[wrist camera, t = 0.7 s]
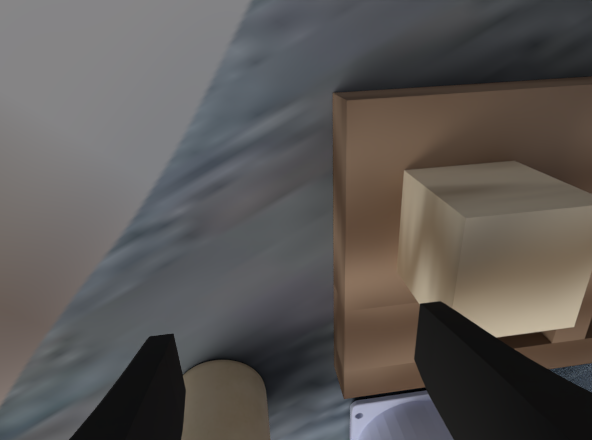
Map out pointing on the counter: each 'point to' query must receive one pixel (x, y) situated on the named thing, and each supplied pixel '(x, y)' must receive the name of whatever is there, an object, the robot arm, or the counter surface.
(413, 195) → the maple block
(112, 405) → the robot arm
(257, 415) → the cream domed cylinder
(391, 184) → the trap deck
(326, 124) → the counter surface
